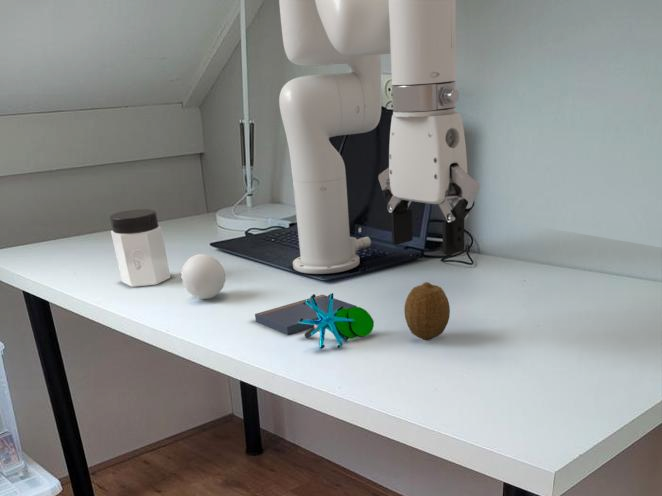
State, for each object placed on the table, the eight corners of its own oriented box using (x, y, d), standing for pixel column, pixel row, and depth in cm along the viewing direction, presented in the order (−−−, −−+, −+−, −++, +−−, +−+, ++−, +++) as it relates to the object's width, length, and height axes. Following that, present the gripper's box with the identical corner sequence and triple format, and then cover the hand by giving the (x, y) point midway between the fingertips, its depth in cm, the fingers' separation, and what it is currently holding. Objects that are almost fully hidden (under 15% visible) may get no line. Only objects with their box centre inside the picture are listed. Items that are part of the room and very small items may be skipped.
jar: (119, 288, 136) (103, 220, 130) (125, 276, 143) (110, 211, 137) (168, 284, 137) (155, 216, 131) (172, 272, 144) (160, 207, 138)
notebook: (323, 301, 122) (322, 294, 122) (357, 313, 116) (356, 305, 116) (255, 321, 116) (254, 313, 115) (287, 334, 110) (286, 326, 109)
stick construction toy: (312, 342, 99) (301, 287, 100) (286, 360, 105) (277, 308, 106) (383, 345, 106) (373, 293, 107) (356, 362, 112) (346, 313, 113)
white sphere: (237, 294, 129) (231, 251, 125) (207, 307, 124) (199, 262, 120) (196, 287, 134) (189, 245, 130) (165, 299, 129) (157, 256, 125)
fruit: (407, 331, 108) (405, 276, 104) (450, 331, 107) (450, 275, 103) (403, 347, 102) (401, 289, 98) (449, 347, 101) (448, 288, 97)
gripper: (500, 97, 85) (496, 251, 94) (400, 98, 97) (405, 233, 106) (452, 104, 81) (453, 263, 90) (354, 103, 93) (363, 244, 102)
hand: (427, 247), depth 98 cm, fingers open, 9 cm apart
